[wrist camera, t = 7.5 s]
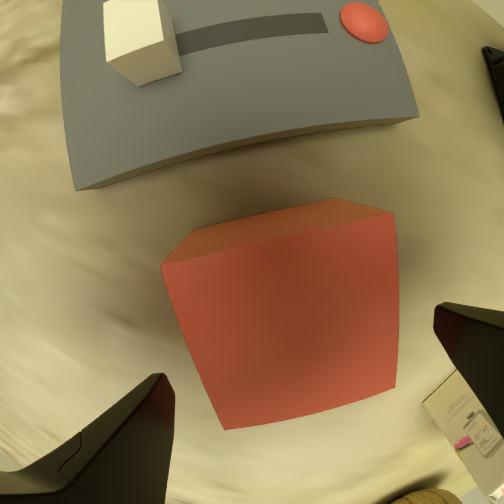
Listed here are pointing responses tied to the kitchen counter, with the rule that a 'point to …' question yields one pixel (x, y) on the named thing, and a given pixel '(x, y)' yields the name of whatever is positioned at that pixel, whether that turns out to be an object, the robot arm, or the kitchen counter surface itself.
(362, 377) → the cap
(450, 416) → the ink cartridge box
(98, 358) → the kitchen counter surface
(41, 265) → the kitchen counter surface
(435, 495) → the cantaloupe
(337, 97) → the breaker panel
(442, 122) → the kitchen counter surface
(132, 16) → the block
